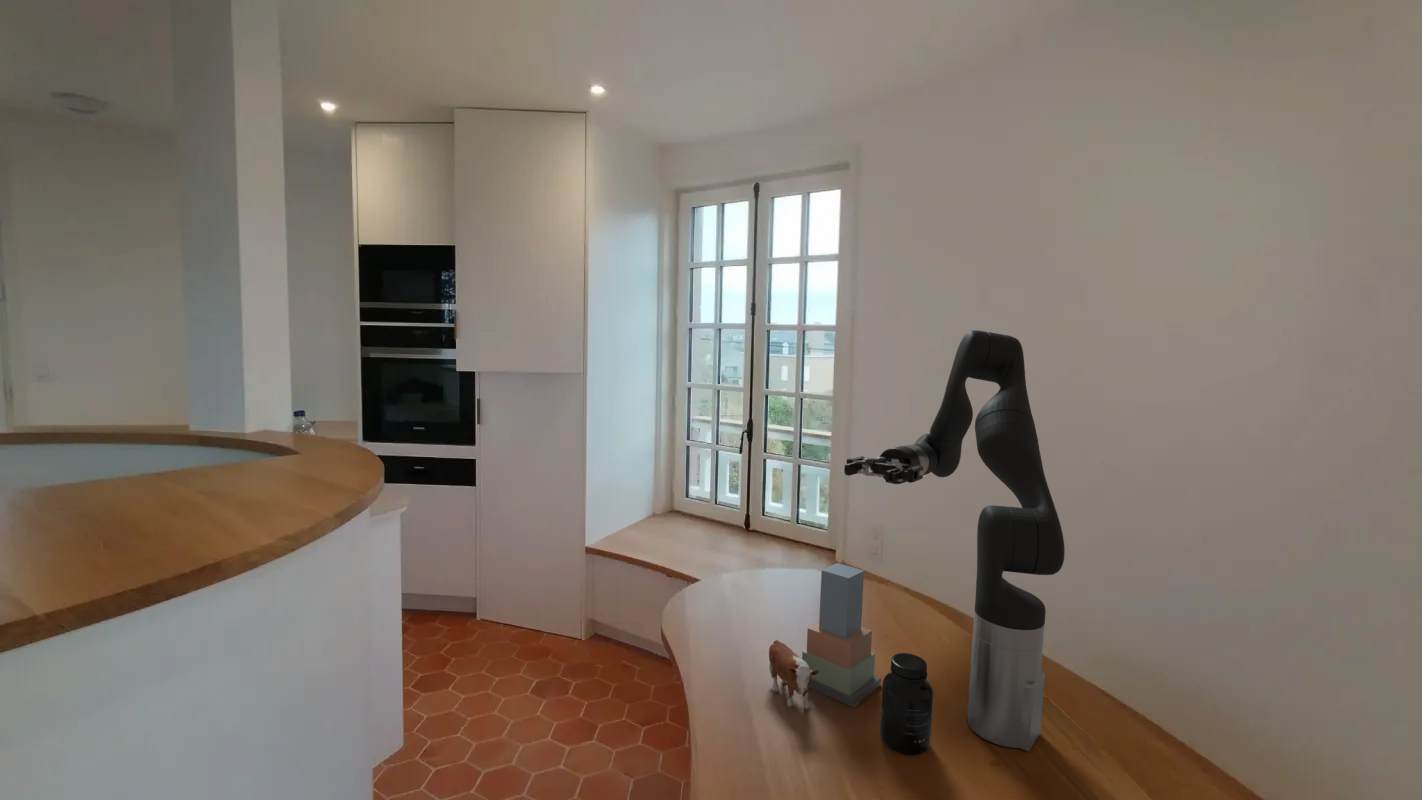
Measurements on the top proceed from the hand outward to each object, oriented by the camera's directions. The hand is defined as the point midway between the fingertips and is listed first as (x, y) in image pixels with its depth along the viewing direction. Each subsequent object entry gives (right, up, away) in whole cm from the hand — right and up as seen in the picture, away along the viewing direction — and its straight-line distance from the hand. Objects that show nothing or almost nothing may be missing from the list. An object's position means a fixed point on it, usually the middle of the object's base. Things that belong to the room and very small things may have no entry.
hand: (866, 473), depth 118 cm
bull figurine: (-17, -34, -20) cm, 43 cm away
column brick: (-8, -24, -16) cm, 30 cm away
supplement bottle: (-2, -35, -30) cm, 46 cm away
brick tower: (-9, -33, -15) cm, 37 cm away
